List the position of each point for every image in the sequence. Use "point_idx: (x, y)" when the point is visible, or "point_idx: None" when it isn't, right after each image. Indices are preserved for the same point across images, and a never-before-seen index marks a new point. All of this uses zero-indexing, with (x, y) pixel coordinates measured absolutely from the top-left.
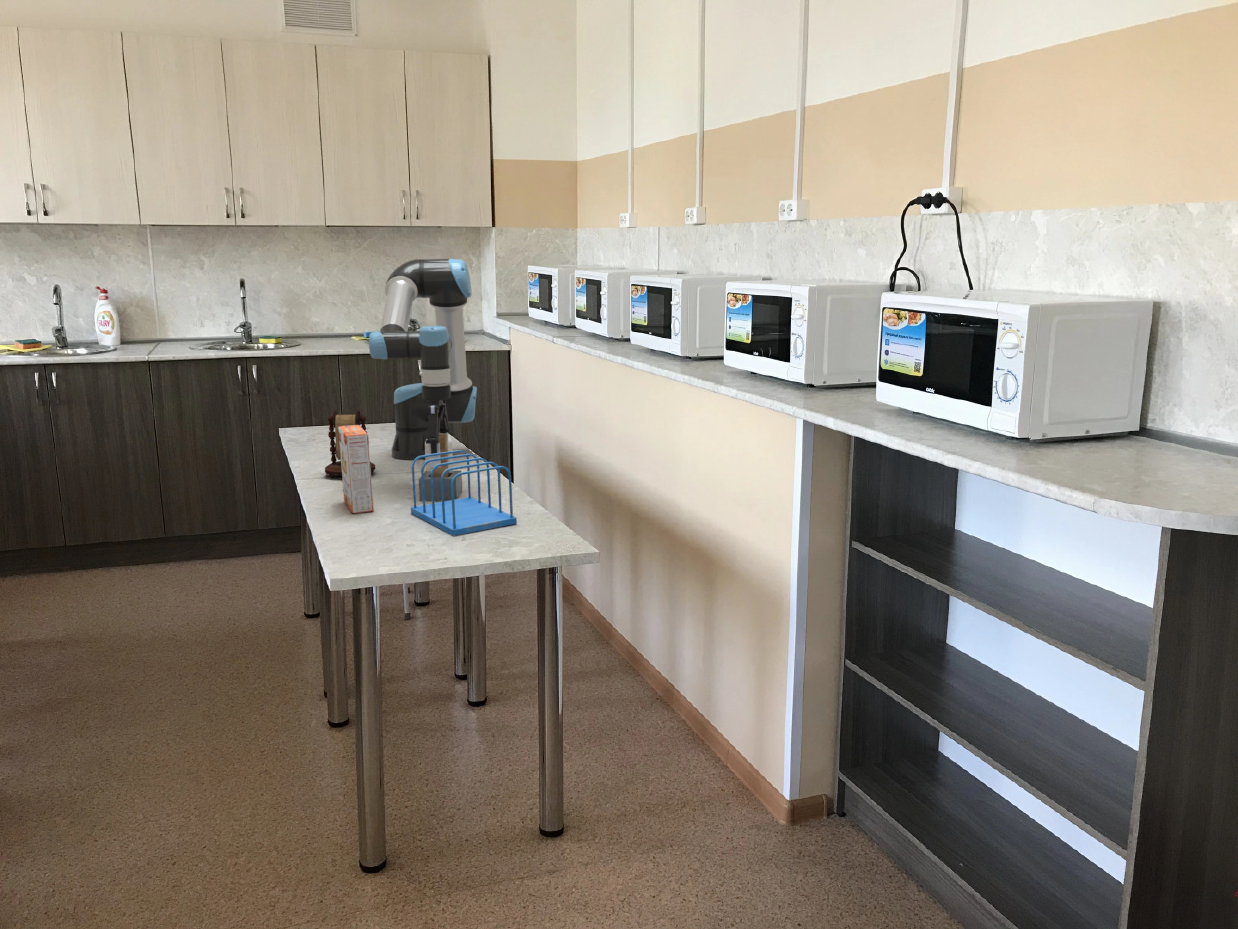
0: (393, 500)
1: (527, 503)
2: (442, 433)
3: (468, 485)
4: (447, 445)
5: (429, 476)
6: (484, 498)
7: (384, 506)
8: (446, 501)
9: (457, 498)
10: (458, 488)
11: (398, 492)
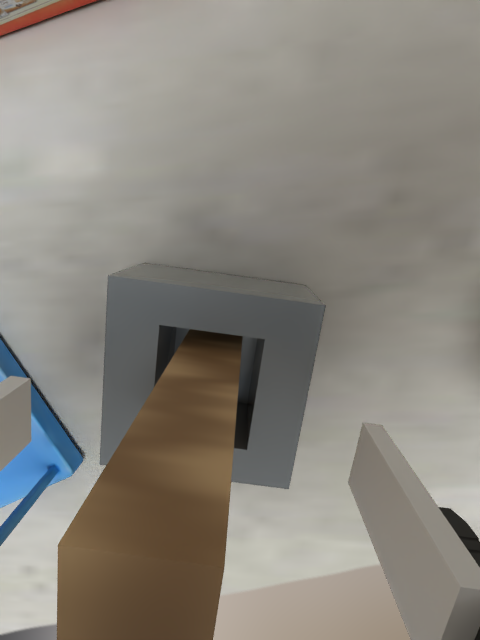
0: (168, 136)
1: None
2: (471, 633)
3: (16, 507)
4: (378, 547)
5: (210, 329)
6: None
7: (58, 100)
8: None
9: None
10: None
11: (324, 148)
